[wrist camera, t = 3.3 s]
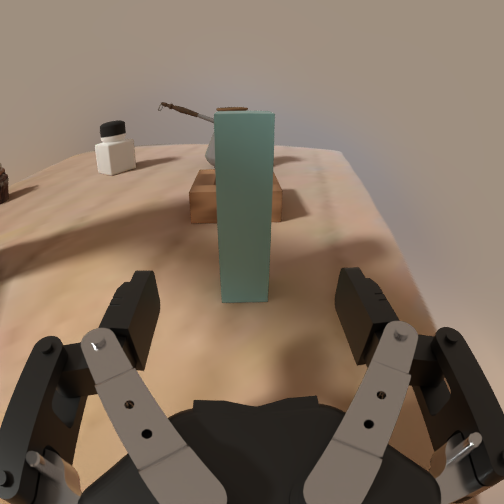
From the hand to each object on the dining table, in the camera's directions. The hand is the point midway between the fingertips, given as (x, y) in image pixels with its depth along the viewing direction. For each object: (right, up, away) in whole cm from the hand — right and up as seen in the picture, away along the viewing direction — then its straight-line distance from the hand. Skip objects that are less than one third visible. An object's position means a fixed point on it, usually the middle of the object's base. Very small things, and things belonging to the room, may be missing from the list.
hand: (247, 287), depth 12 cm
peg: (0, -2, +12) cm, 12 cm away
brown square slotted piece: (-2, +8, +29) cm, 30 cm away
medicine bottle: (-32, +20, +51) cm, 63 cm away
